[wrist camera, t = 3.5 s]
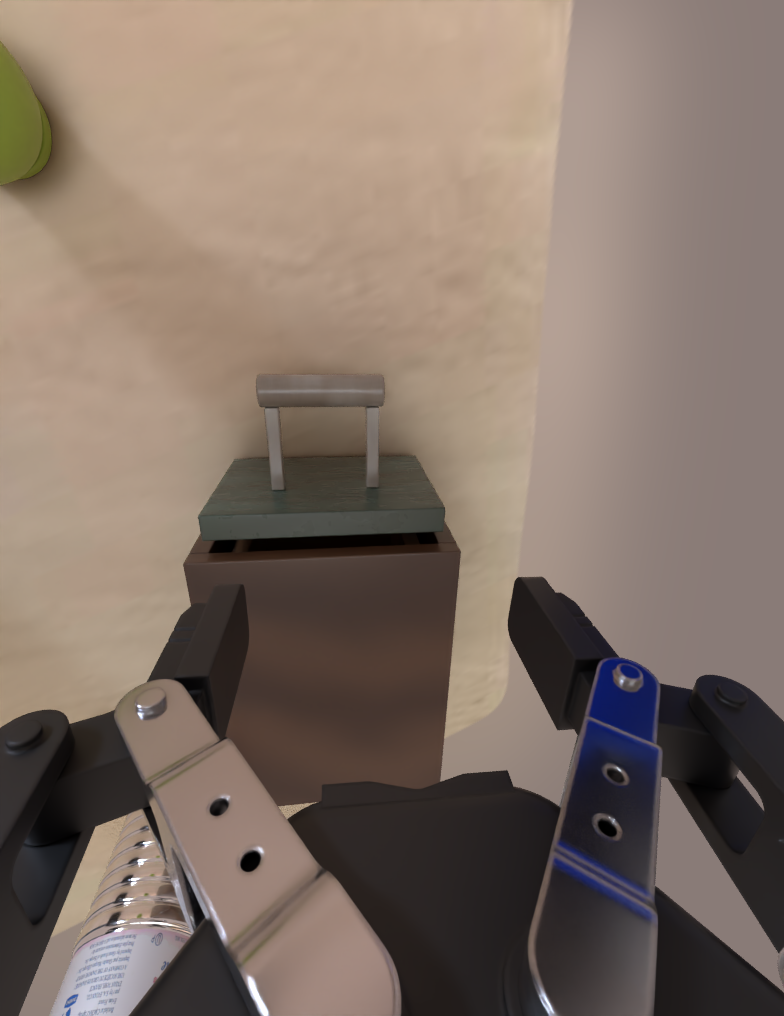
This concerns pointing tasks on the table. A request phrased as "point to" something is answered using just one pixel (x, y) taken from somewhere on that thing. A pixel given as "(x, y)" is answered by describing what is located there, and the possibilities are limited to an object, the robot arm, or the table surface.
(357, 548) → the cabinet
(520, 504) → the table surface
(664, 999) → the robot arm
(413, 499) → the drawer
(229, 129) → the table surface
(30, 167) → the pear
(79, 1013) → the water bottle
